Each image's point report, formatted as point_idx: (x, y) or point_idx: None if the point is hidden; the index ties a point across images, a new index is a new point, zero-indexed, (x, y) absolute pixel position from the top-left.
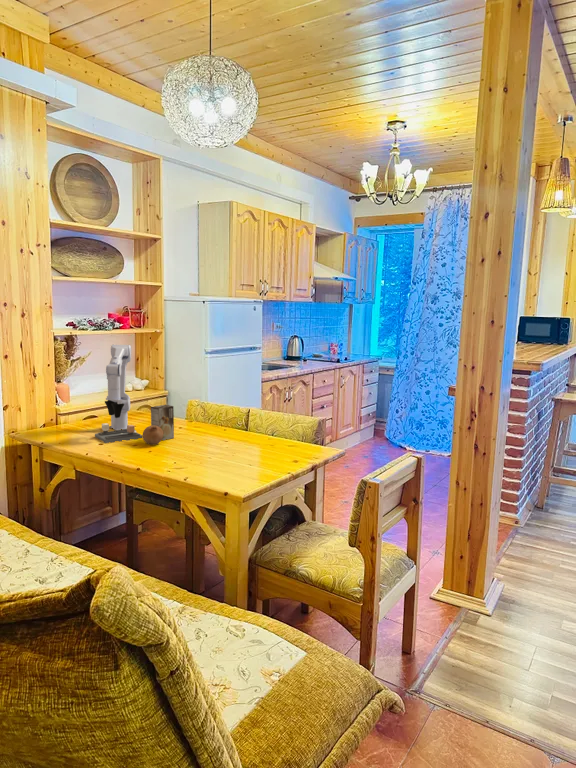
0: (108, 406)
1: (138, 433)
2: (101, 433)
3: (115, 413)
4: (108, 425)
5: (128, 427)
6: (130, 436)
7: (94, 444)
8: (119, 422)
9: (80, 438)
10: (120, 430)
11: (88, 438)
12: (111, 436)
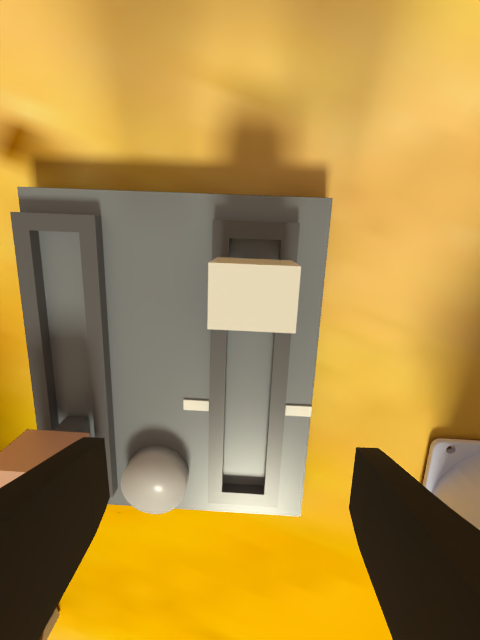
0: (468, 608)
1: (130, 504)
2: (245, 236)
3: (13, 489)
4: (209, 320)
5: (23, 460)
6: (41, 414)
7: (36, 84)
8: (478, 522)
9: (345, 45)
10: (268, 429)
11: (297, 121)
12: (84, 274)
